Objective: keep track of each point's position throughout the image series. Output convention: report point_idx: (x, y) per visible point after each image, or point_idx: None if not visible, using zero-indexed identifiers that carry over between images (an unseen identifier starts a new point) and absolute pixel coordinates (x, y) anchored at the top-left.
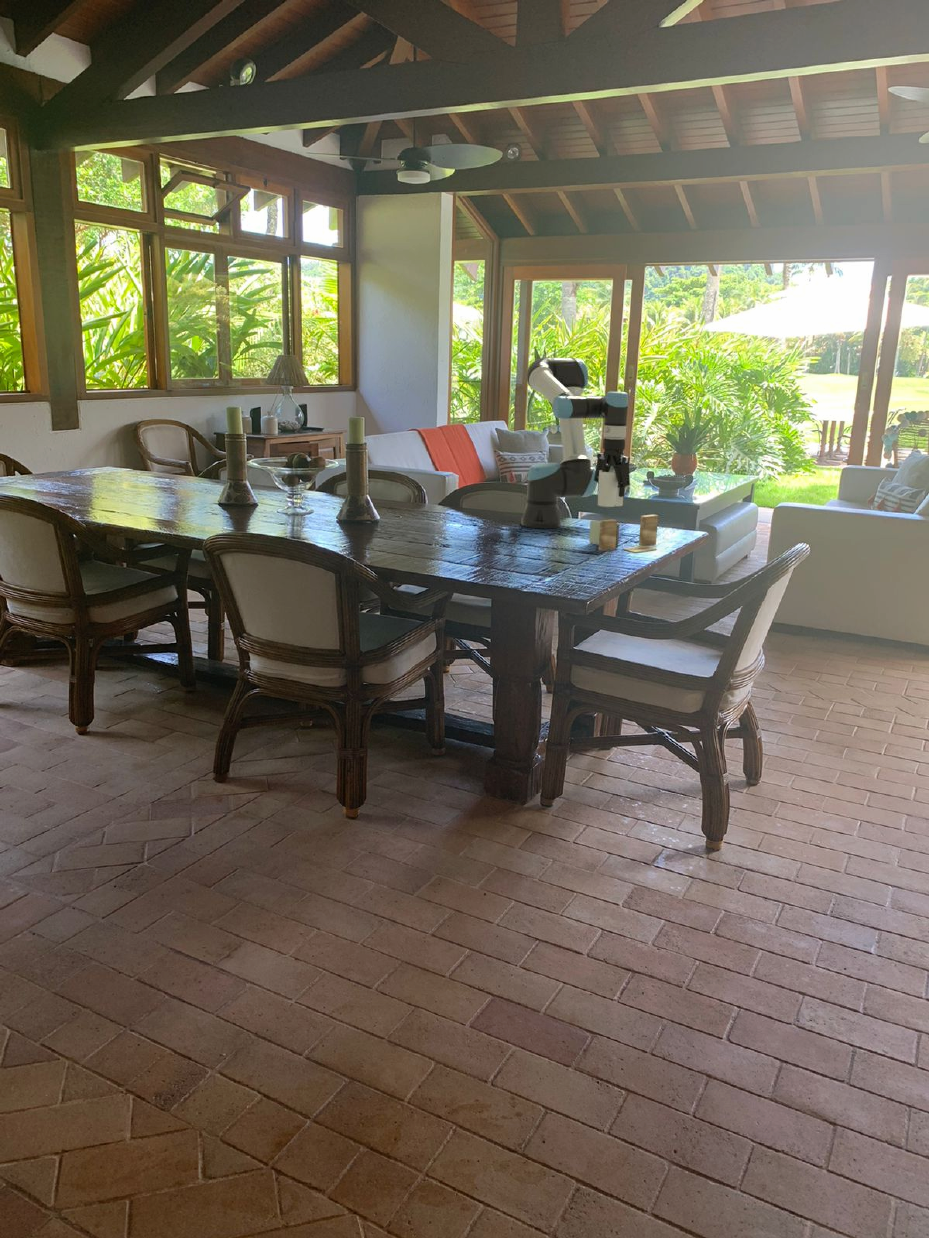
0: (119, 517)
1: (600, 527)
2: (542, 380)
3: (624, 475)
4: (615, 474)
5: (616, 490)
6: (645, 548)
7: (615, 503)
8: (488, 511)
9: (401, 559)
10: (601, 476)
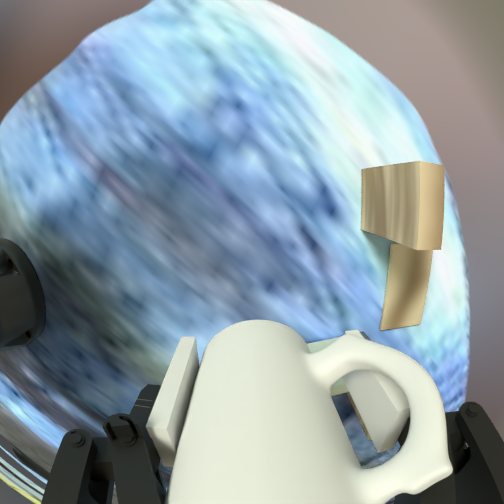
0: (30, 498)
1: (363, 424)
2: None
3: (478, 491)
4: None
5: (371, 435)
6: (416, 269)
7: (309, 350)
8: None
9: None
10: None
